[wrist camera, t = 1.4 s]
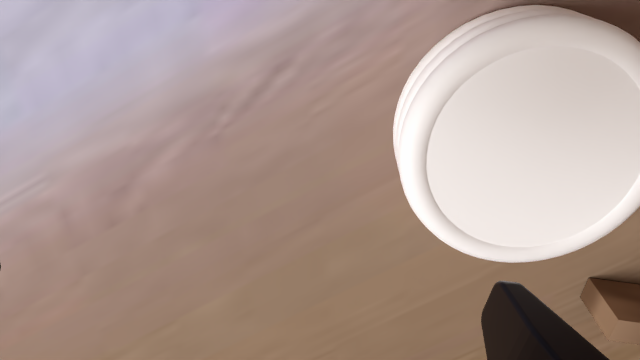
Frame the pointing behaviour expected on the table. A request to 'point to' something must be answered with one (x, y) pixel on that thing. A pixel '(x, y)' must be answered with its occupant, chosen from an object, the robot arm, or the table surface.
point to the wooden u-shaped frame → (614, 308)
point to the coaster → (523, 134)
